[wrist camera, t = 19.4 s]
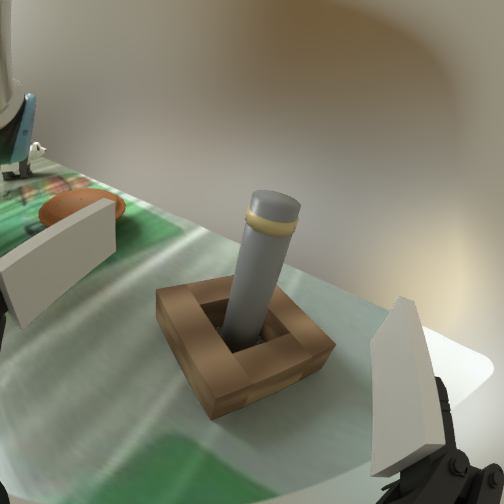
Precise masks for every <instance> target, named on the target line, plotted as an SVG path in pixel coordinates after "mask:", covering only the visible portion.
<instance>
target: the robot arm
mask: <svg viewBox="0 0 504 504" xmlns="http://www.w3.org/2000/svg"><path fill="white" fill-rule="evenodd" d="M10 24H11V0H0V165H5V164H8V165H11V164H12V163H15V162H20V161H23V160H24V159H26V157H27V156H28V153H29V150H30V144H31V138H32V131H33V123H34V116H35V108H36V96H35V95H34V94H26V95H24V89H23V86H22V84H21V83H20V82H19V81H18V80H17V79H14V78H13V70H12V57H11V32H10V31H11V28H10V26H11V25H10ZM114 252H116V236H115V201H112V200H109V199H106V198H102V199H100V200H98V201H96V202H94V203H92V204H91V205H89V206H87V207H85V208H83V209H81V210H79V211H77V212H75V213H73V214H72V215H70V216H68V217H66V218H64V219H63V220H61V221H59V222H57V223H55V224H54V225H52V226H50V227H49V228H47V229H45V230H43V231H42V232H40V233H38V234H37V235H35V236H33V237H30V238H29V239H27V240H25V241H24V242H22V243H21V245H20V244H19V245H18V246H16V247H15V248H14V249H11V250H10V251H8V252H7V253H5V254H4V255H3V256H1V257H0V350H1V344H2V338H3V333H4V328H5V324H6V316H5V314H4V313H6V312H7V311H9V313H10V316H11V318H12V320H13V322H14V323H15V324H16V325H18V326H19V327H20V328H21V329H22V330H24V329H25V328H26V327H27V326H28V325H29V324H30V323H31V322H32V321H33V320H34V319H36V318H37V317H38V316H39V315H40V314H41V313H42V312H43V311H44V310H45V309H47V308H48V307H49V306H50V305H51V304H52V303H53V302H54V301H56V300H57V299H58V298H59V297H60V296H61V295H63V294H64V293H65V292H66V291H67V290H68V289H70V288H71V287H72V286H73V285H74V284H76V283H77V282H78V281H79V280H80V279H82V278H83V277H84V276H85V275H87V274H88V273H89V272H90V271H91V270H93V269H94V268H95V267H96V266H98V265H99V264H100V263H102V262H103V261H104V260H105V259H107V258H108V257H109V256H111V255H112V254H113V253H114ZM370 346H371V362H372V386H373V438H372V460H371V475H370V476H371V477H391V476H393V475H395V474H397V473H399V472H400V479H399V480H397V481H395V482H393V483H391V484H389V485H386V486H385V487H383V488H382V489H381V490H382V491H384V490H386V489H388V488H389V490H388V491H387V492H386V493H385V494H384V495H383V496H382V497H381V498H380V500H379V501H378V502H377V503H376V504H500V500H501V495H502V491H503V486H504V473H503V470H502V468H501V467H500V466H499V465H498V464H495V463H493V464H490V465H489V466H487V467H485V468H484V469H482V470H481V469H478V468H476V467H473V466H470V463H469V459H468V457H467V456H466V454H465V453H464V452H462V451H461V450H459V449H457V448H456V442H455V436H454V428H453V421H452V416H451V413H450V411H451V410H450V405H449V403H448V401H449V400H448V395H447V390H446V387H445V386H444V384H443V382H442V380H441V378H440V377H435V376H434V372H433V368H432V363H431V359H430V355H429V351H428V347H427V343H426V340H425V336H424V333H423V329H422V326H421V322H420V319H419V316H418V313H417V309H416V306H415V303H414V301H412V300H409V299H406V298H404V297H401V296H399V298H398V299H397V301H396V303H395V304H394V306H393V307H392V309H391V311H390V312H389V314H388V315H387V317H386V318H385V320H384V321H383V323H382V325H381V326H380V328H379V329H378V331H377V332H376V334H375V335H374V336H373V338H372V339H371V341H370ZM0 504H10V502H9V497H8V494H7V492H6V489H5V487H4V486H3V484H2V483H1V482H0Z"/></svg>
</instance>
